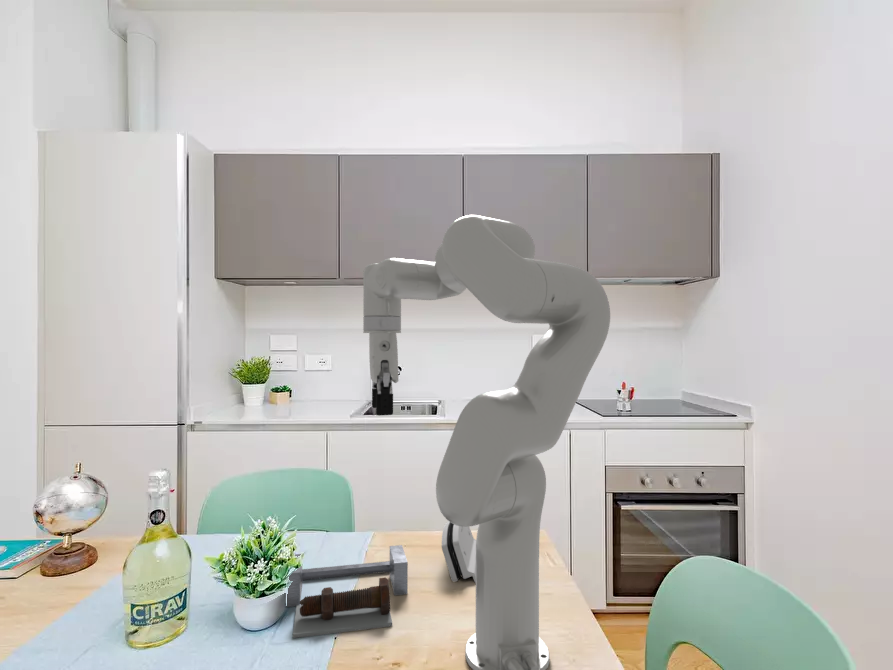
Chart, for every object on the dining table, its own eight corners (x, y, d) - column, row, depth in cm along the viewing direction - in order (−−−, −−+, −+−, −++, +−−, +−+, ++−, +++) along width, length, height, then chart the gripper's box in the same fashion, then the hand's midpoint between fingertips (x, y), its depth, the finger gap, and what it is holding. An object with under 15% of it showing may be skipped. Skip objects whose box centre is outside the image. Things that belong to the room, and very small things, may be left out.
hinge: (477, 583, 101) (460, 534, 102) (454, 590, 102) (437, 541, 102) (482, 548, 118) (467, 506, 118) (463, 554, 119) (448, 512, 119)
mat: (392, 626, 87) (392, 622, 87) (292, 638, 83) (292, 634, 83) (386, 598, 95) (386, 595, 95) (296, 608, 92) (296, 605, 92)
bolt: (301, 627, 88) (389, 614, 91) (298, 626, 84) (391, 613, 87) (301, 589, 91) (387, 578, 94) (299, 587, 87) (388, 575, 90)
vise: (407, 593, 97) (407, 562, 97) (285, 607, 92) (285, 573, 92) (399, 567, 108) (399, 538, 108) (290, 577, 103) (290, 548, 103)
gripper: (407, 325, 96) (406, 417, 96) (395, 326, 113) (395, 404, 113) (366, 325, 95) (366, 418, 95) (360, 326, 111) (360, 405, 111)
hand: (382, 411), depth 104 cm, fingers open, 9 cm apart
